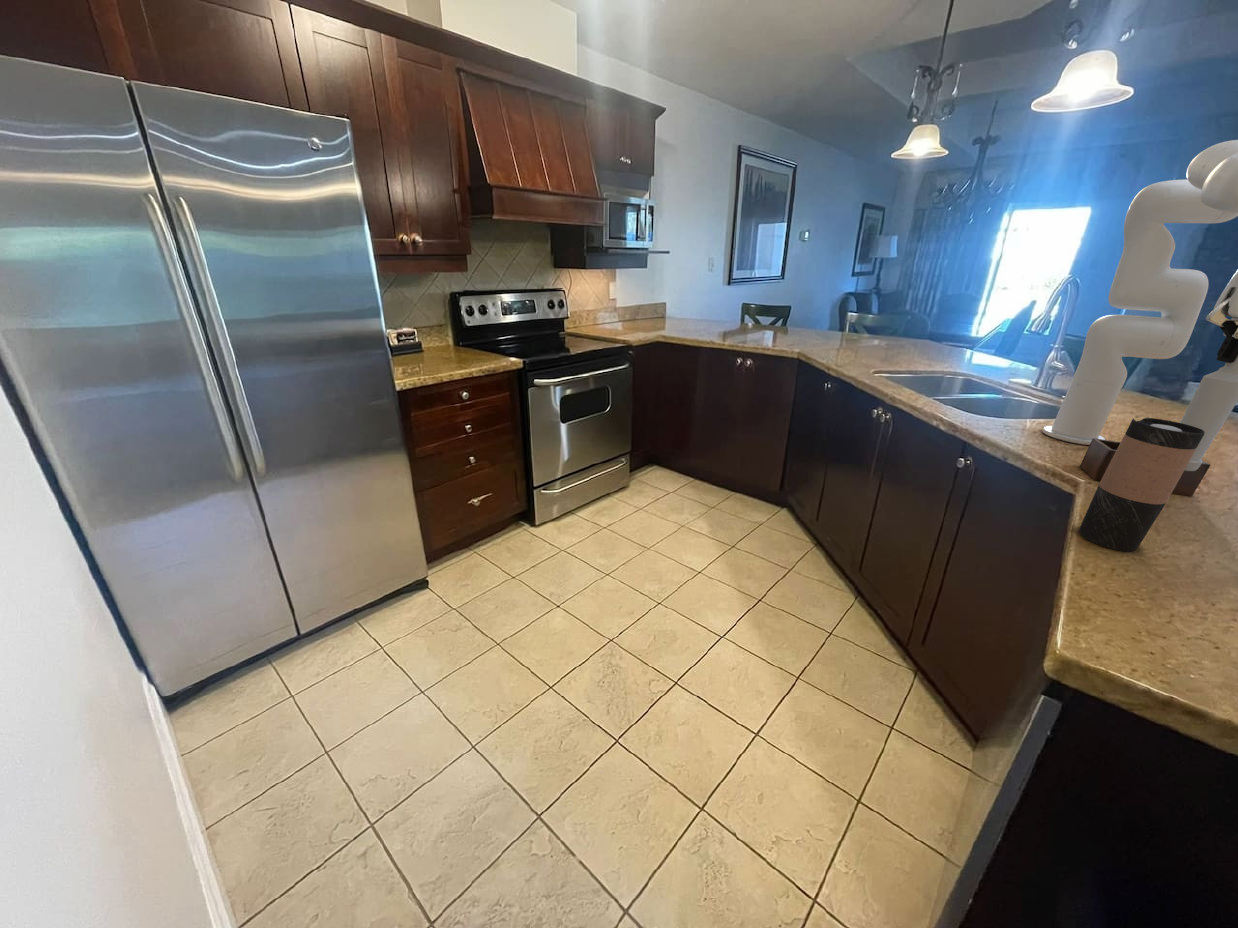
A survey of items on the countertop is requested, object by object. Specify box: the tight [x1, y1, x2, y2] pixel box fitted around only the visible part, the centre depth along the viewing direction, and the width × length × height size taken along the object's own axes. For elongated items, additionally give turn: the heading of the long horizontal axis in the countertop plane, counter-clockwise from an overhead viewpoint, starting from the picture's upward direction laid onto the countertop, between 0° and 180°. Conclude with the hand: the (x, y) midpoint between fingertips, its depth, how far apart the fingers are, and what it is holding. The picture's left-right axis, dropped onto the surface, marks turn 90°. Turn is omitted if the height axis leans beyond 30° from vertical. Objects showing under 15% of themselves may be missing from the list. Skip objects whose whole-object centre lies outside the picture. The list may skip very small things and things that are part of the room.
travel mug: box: [1078, 417, 1205, 552], centre depth 74 cm, size 8×8×20 cm
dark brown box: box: [1078, 438, 1211, 497], centre depth 100 cm, size 8×15×7 cm, turn 65°
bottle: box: [1179, 356, 1238, 471], centre depth 83 cm, size 5×5×25 cm
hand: (1235, 361), depth 80 cm, fingers closed on bottle, 2 cm apart
